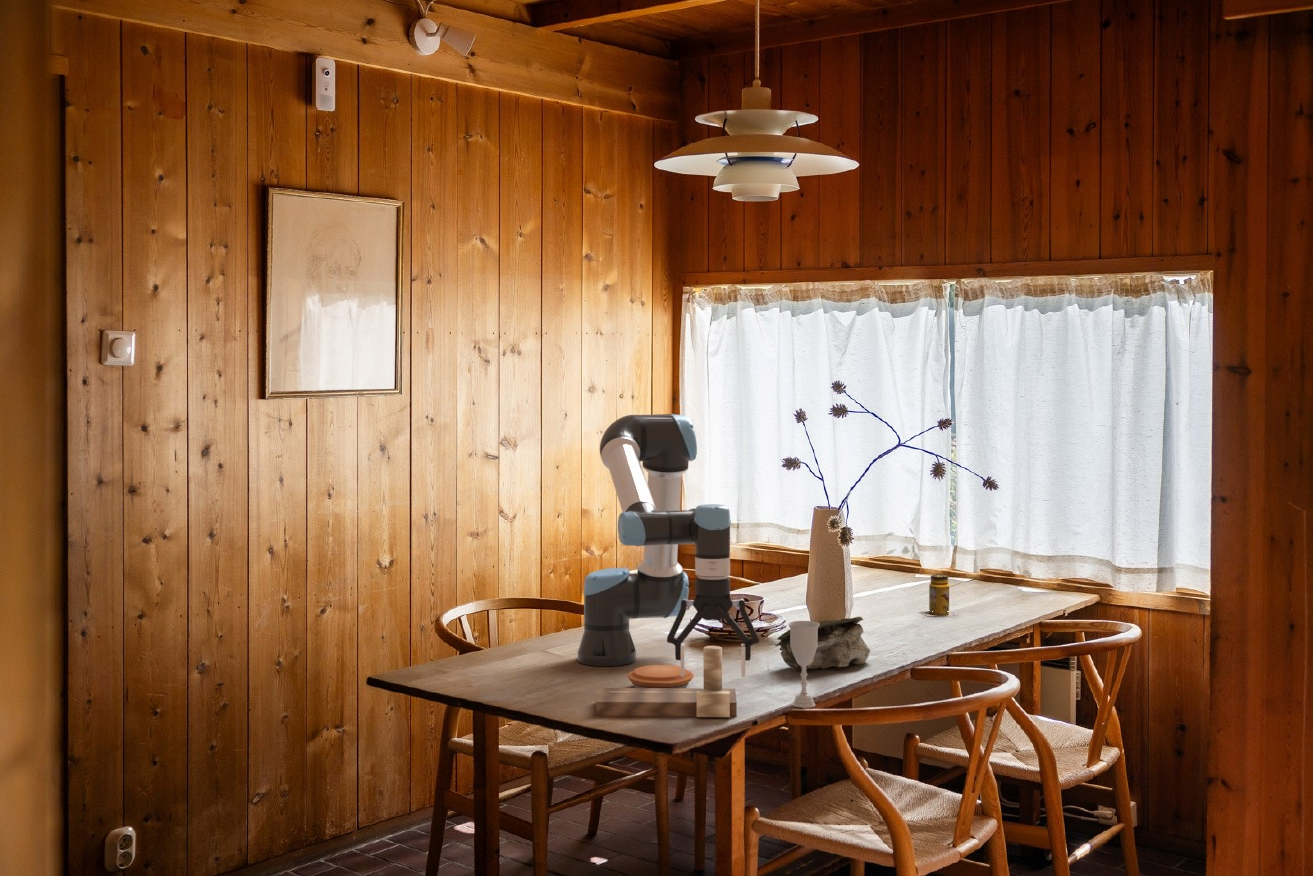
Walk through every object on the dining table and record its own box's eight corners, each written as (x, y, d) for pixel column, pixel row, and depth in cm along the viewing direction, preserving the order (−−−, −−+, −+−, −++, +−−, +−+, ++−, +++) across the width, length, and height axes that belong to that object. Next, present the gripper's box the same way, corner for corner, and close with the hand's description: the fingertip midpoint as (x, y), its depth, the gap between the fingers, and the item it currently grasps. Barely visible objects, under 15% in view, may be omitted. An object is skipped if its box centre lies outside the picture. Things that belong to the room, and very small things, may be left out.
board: (596, 715, 258) (596, 701, 258) (601, 701, 270) (601, 687, 270) (736, 716, 257) (736, 702, 257) (735, 702, 269) (735, 688, 269)
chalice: (807, 710, 262) (807, 628, 261) (781, 705, 266) (781, 624, 266) (826, 704, 267) (826, 623, 267) (800, 698, 272) (800, 619, 271)
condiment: (954, 615, 370) (954, 576, 370) (928, 616, 369) (928, 577, 368) (943, 611, 377) (944, 573, 377) (918, 612, 376) (918, 574, 375)
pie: (617, 686, 285) (617, 665, 285) (676, 679, 291) (676, 659, 291) (642, 701, 271) (642, 679, 270) (704, 694, 277) (704, 672, 277)
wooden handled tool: (696, 717, 255) (696, 653, 255) (696, 703, 267) (696, 642, 266) (729, 717, 255) (729, 653, 255) (728, 703, 266) (728, 642, 266)
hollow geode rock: (782, 694, 295) (808, 658, 285) (758, 651, 302) (783, 615, 292) (868, 675, 310) (896, 641, 300) (843, 635, 317) (869, 600, 307)
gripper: (654, 579, 257) (655, 679, 257) (770, 579, 256) (770, 679, 256) (656, 573, 264) (656, 670, 265) (768, 574, 263) (768, 671, 264)
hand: (712, 675), depth 261 cm, fingers open, 12 cm apart
